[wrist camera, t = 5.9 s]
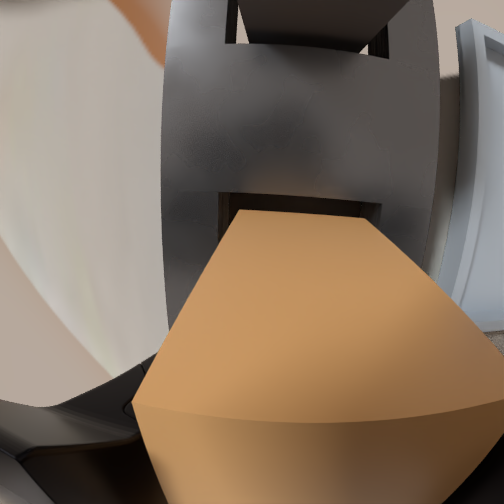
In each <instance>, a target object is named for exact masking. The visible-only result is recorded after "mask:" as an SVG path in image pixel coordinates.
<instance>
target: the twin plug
mask: <svg viewBox="0 0 504 504" xmlns="http://www.w3.org/2000/svg"><path fill="white" fill-rule="evenodd" d="M408 1H409V0H237V2H238V5H239V9H240V12H241V16H242V19H243V23H244V26H245V30H246V33H247V37H248V41H249V44H277V45H293V46H306V47H316V48H325V49H333V50H340V51H347V52H353V53H360V51H361V50H362V49H363V48H364V47H365V46H366V45H367V44H368V43H369V42H370V41H371V40H372V39H373V38H374V37H375V36H376V35H377V33H378V32H379V31H380V30H381V29H382V28H383V27H384V26H385V25H386V24H387V23H388V22H389V21H390V20H391V19H392V18H393V17H394V16H395V15H396V14H397V13H398V12H399V11H400V10H401V9H402V8H403V6H404V5H405V4H406V3H407V2H408Z"/></svg>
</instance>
